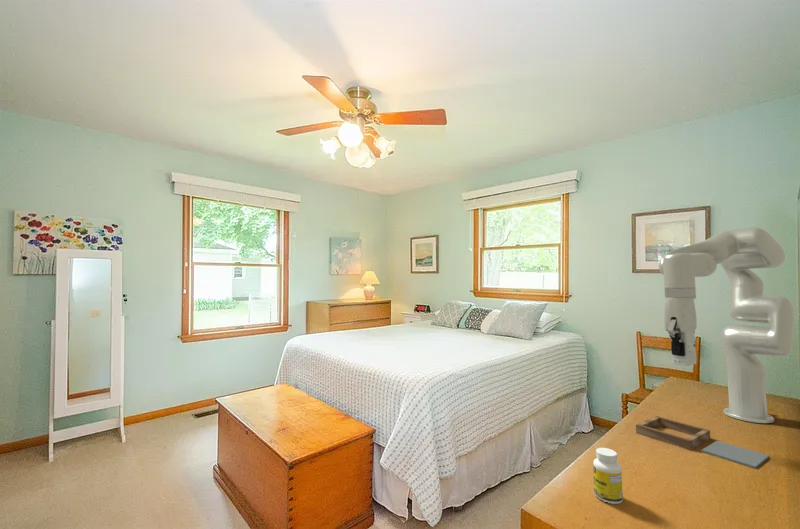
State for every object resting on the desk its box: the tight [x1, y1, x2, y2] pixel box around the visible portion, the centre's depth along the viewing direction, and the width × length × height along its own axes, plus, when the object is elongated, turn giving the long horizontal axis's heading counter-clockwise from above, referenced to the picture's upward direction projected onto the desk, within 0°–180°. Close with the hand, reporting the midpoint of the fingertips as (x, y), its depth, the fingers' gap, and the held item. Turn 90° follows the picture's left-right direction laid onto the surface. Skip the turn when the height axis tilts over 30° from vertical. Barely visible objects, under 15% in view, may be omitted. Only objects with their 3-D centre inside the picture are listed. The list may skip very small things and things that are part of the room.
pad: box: [701, 440, 770, 470], centre depth 98 cm, size 11×11×1 cm
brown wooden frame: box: [635, 415, 711, 451], centre depth 111 cm, size 14×14×2 cm
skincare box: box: [670, 330, 697, 367], centre depth 109 cm, size 6×4×12 cm
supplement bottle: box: [592, 447, 624, 505], centre depth 79 cm, size 5×5×10 cm
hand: (683, 353), depth 109 cm, fingers closed on skincare box, 6 cm apart
